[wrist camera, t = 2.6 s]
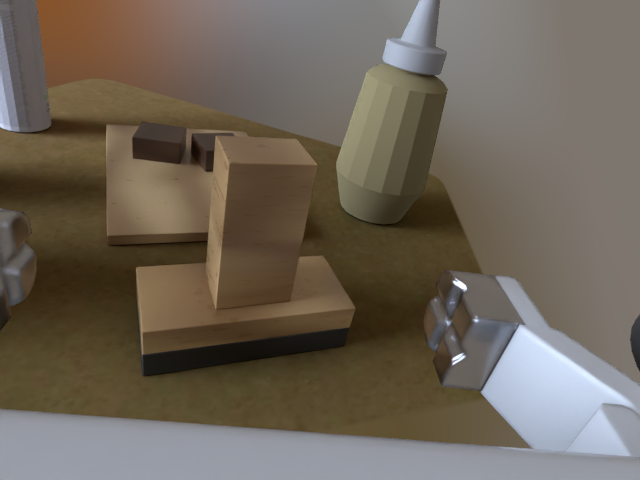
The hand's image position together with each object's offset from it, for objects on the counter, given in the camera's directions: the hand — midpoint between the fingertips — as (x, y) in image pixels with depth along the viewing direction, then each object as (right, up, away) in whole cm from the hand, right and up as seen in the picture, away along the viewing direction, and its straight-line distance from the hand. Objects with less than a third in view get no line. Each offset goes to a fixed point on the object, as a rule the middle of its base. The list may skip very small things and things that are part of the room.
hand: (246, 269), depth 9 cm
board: (-10, +6, +32) cm, 34 cm away
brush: (-3, -4, +17) cm, 18 cm away
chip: (-13, +9, +33) cm, 36 cm away
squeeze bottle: (+6, +3, +33) cm, 34 cm away
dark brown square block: (-8, +8, +34) cm, 35 cm away
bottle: (-26, +11, +34) cm, 45 cm away
